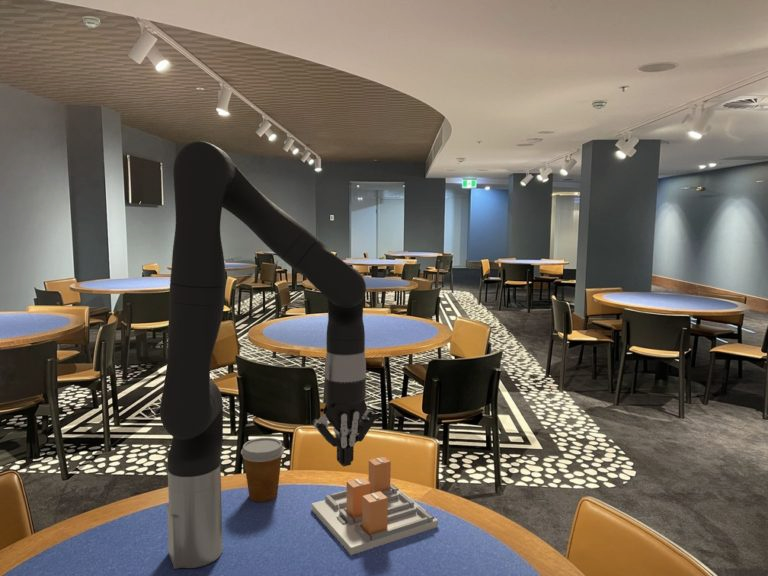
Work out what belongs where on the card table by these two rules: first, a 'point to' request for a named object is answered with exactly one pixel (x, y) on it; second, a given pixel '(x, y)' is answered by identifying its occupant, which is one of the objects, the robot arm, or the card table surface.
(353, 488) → the tab mid
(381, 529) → the tab near
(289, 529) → the card table surface
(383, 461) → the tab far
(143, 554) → the card table surface
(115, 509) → the card table surface
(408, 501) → the switch bank
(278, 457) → the disposable coffee cup
